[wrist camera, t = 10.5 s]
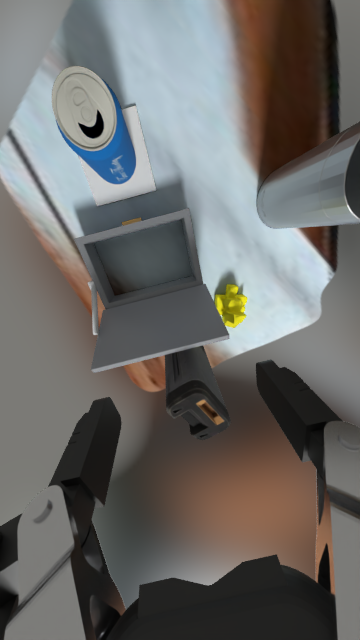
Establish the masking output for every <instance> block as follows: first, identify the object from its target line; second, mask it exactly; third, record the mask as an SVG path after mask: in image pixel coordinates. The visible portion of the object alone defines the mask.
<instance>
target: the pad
mask: <svg viewBox="0 0 360 640" xmlns="http://www.w3.org/2000/svg"><path fill="white" fill-rule="evenodd" d="M122 113H123V116H124V119H125V122H126V125H127V128H128V132H129V135H130V138H131V141H132V144H133V147H134V150H135V154H136V168H135V171H134V174H133V176H132V177H131V178H130V179H129V180H128V181H127V182H125V183H123V184H111V183H109V182H107V181H105V180H104V179H103V178H102V177H100V176H99V175H98V174H97V173H96V172H95V171H94V170H93V169H92V168H91V167H90V166H89V165H88V164H87V163H86V162H85V161H84V160H83V159H82V158H81V157H80V156H79V155H78V156H79V159H80V162H81V164H82V167H83V170H84V173H85V175H86V178H87V181H88V183H89V186H90V189H91V191H92V194H93V197H94V199H95V202H96V205H97V206H101V205H105V204H109V203H112V202H116V201H120V200H123V199H127V198H131V197H135V196H138V195H142V194H146V193H149V192H153V191H156V187H155V182H154V178H153V174H152V170H151V166H150V162H149V158H148V154H147V150H146V146H145V141H144V137H143V133H142V129H141V125H140V121H139V117H138V113H137V109H136V106H132V107H129V108H125V109H122Z"/></svg>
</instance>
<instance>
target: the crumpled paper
mask: <svg viewBox="0 0 360 640" xmlns="http://www.w3.org/2000/svg"><path fill="white" fill-rule="evenodd" d="M237 292H238V287H237V286H236V285H234V284H227V286H226V295H215V306H216V308H217V310H218V312H219V314H220V315H222V316H223V319H222V320H223V322H224V325H226V326H229V327H233V328H235V327H236V326H237V325H238V324H239V323H241V322H242V321H243V320H244V318H245V317H246V315H245V314H244V313H243V312H244V311H245V307H244V305H245V304H246V302H247V297H246V296H244V295H243V294H237Z"/></svg>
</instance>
